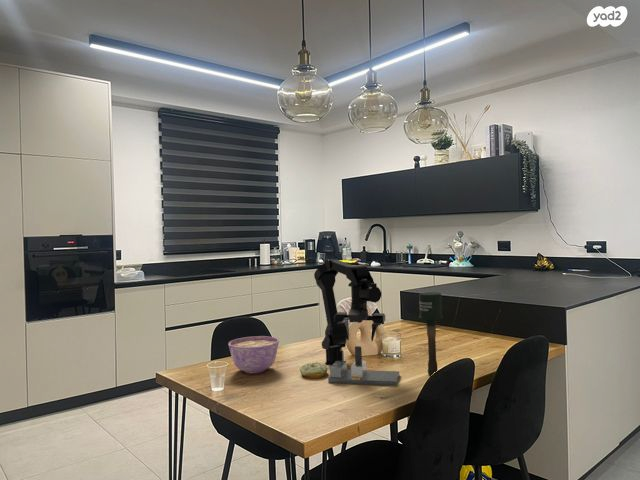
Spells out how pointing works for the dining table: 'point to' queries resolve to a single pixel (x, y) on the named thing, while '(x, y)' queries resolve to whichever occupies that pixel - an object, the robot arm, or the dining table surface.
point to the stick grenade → (431, 323)
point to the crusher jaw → (358, 364)
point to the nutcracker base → (371, 377)
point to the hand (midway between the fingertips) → (360, 340)
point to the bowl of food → (254, 353)
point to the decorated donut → (313, 370)
